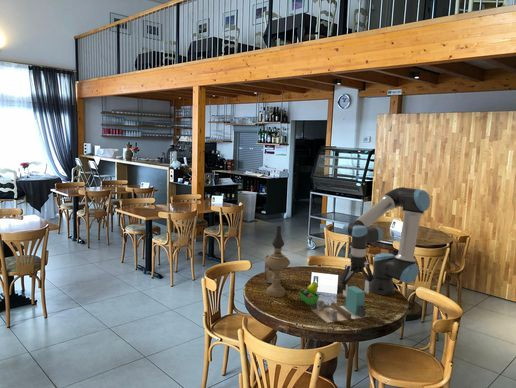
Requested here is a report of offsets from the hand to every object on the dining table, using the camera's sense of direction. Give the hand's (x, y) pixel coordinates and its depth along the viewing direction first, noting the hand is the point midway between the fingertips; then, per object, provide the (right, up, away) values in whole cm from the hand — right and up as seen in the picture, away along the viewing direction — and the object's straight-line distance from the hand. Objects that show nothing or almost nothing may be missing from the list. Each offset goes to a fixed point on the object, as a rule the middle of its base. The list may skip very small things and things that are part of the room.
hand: (355, 294), depth 216 cm
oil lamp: (-41, -5, +23) cm, 48 cm away
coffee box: (-43, -3, +43) cm, 61 cm away
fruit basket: (-23, -8, +12) cm, 27 cm away
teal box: (-1, -9, +1) cm, 9 cm away
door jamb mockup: (-9, -10, -2) cm, 13 cm away
